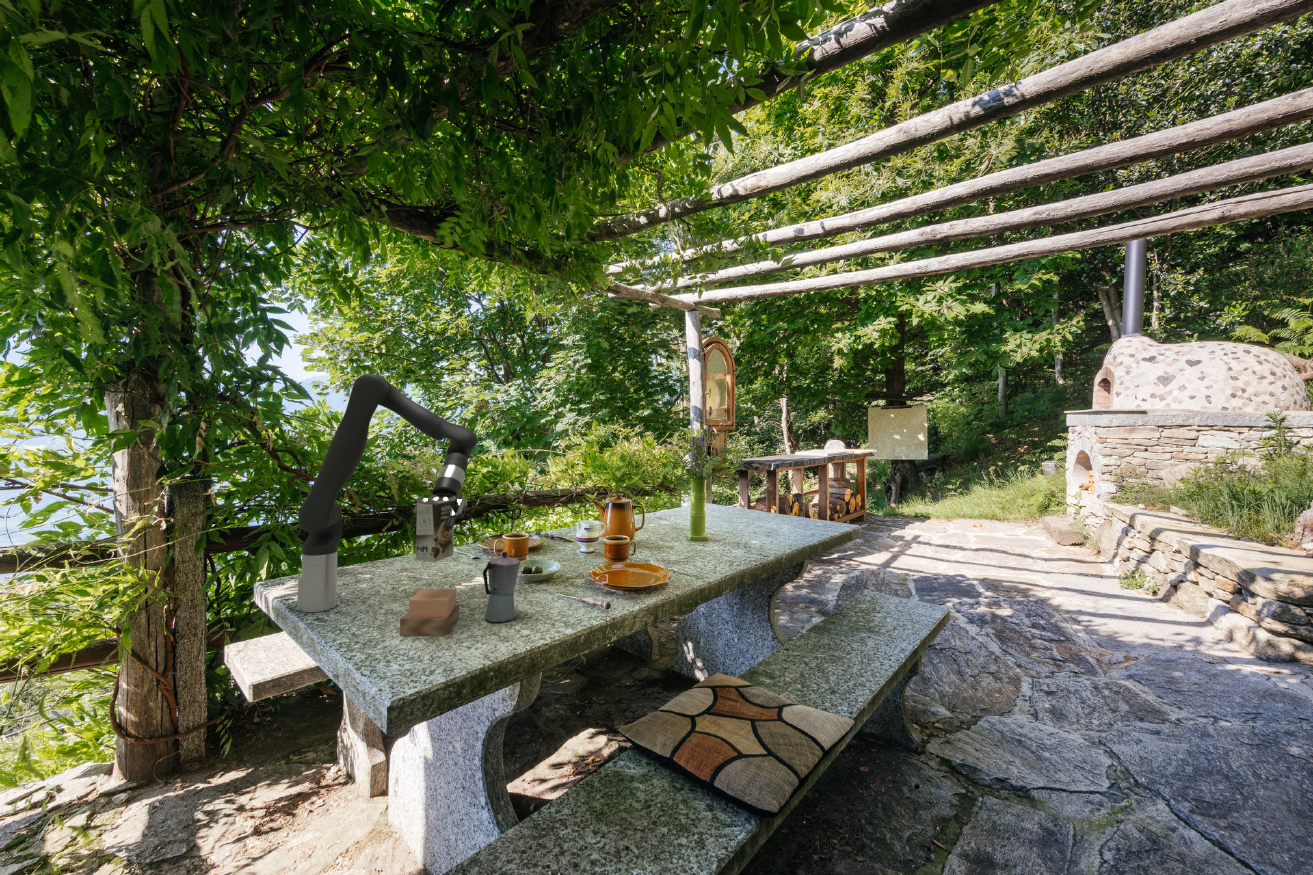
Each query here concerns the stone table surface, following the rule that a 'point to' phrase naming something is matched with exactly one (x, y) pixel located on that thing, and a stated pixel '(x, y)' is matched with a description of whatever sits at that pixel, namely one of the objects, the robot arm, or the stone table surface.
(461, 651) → the stone table surface
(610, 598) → the stone table surface
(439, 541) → the coffee box
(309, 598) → the robot arm
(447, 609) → the tower top block
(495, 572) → the moka pot
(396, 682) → the stone table surface
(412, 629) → the tower base block
